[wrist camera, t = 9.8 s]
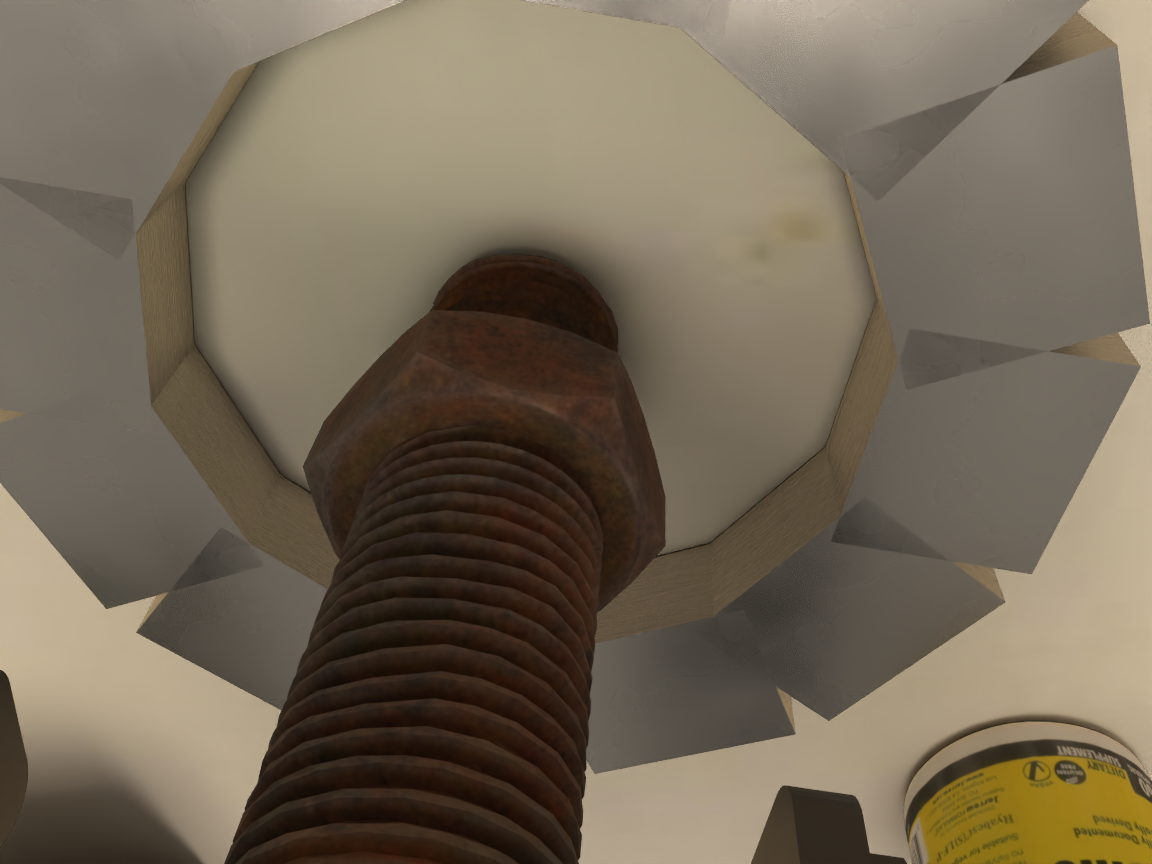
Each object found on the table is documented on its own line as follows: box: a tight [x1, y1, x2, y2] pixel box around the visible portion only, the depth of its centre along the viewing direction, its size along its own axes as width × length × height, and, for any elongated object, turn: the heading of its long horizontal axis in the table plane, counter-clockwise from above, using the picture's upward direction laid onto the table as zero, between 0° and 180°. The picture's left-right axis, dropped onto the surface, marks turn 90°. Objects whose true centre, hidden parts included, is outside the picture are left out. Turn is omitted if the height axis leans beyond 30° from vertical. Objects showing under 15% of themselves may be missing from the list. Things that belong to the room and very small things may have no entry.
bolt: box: [224, 255, 665, 864], centre depth 13 cm, size 6×5×15 cm
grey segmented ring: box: [0, 0, 1150, 774], centre depth 18 cm, size 18×18×2 cm
